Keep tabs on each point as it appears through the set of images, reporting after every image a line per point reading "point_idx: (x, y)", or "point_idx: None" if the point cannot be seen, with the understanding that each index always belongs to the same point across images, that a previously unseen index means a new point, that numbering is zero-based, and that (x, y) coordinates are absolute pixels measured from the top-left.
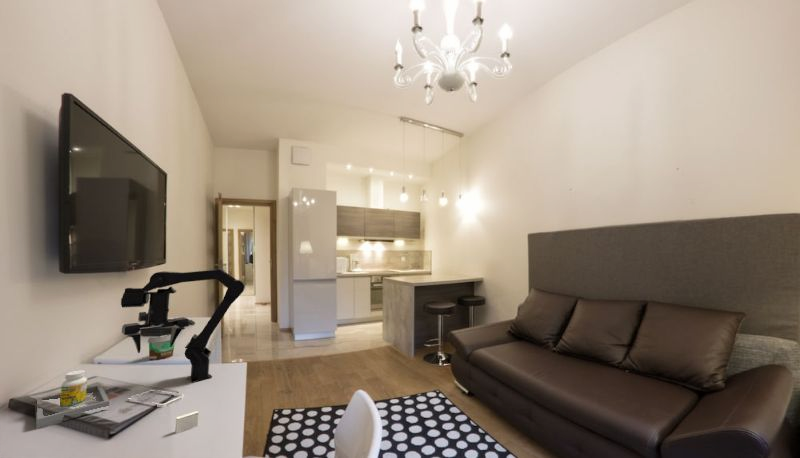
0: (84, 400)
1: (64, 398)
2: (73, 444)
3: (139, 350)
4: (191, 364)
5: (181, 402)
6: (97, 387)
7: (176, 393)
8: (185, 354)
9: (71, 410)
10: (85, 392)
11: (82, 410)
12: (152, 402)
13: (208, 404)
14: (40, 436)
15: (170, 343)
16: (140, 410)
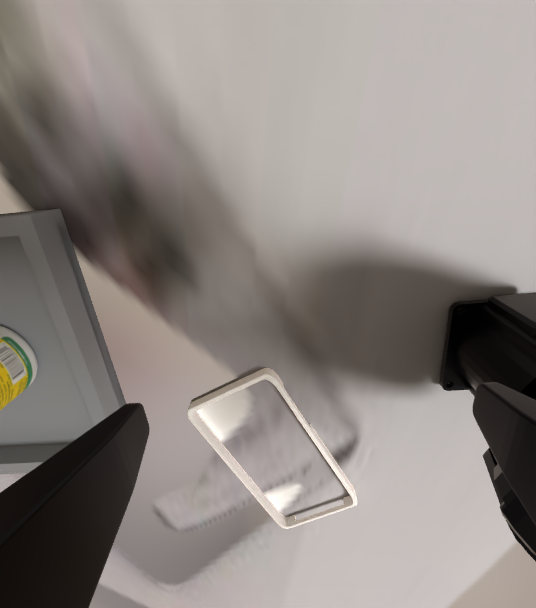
0: (30, 379)
1: None
2: None
3: (132, 468)
4: (484, 458)
5: (337, 521)
6: (28, 255)
7: (341, 479)
8: (504, 496)
9: (22, 471)
10: (2, 399)
11: None
12: (260, 500)
13: (390, 571)
14: None
15: (507, 445)
16: (227, 501)
